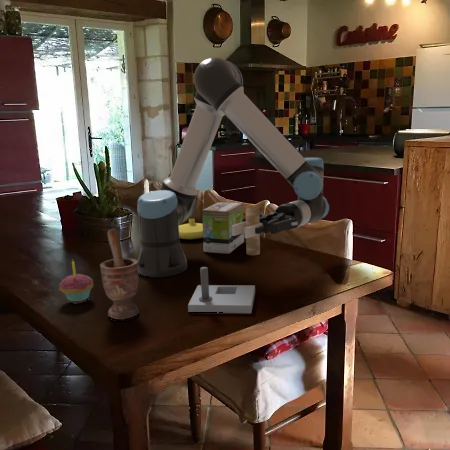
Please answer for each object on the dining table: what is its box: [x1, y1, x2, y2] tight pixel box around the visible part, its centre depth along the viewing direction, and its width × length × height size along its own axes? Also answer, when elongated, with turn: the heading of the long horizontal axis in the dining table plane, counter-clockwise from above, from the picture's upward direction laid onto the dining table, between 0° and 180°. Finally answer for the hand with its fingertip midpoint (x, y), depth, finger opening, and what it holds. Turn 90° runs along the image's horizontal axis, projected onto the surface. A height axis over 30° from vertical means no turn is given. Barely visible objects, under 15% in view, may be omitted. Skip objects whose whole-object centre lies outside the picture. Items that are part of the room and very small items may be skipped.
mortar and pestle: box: [99, 228, 140, 319], centre depth 114 cm, size 12×9×20 cm
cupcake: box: [58, 259, 94, 301], centre depth 124 cm, size 9×8×12 cm
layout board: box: [187, 266, 256, 314], centre depth 119 cm, size 15×13×10 cm
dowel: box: [245, 207, 261, 256], centre depth 127 cm, size 4×4×12 cm
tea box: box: [201, 201, 245, 255], centre depth 166 cm, size 15×10×15 cm
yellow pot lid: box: [179, 218, 203, 240], centre depth 182 cm, size 16×16×7 cm
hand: (239, 231), depth 123 cm, fingers closed on dowel, 3 cm apart
